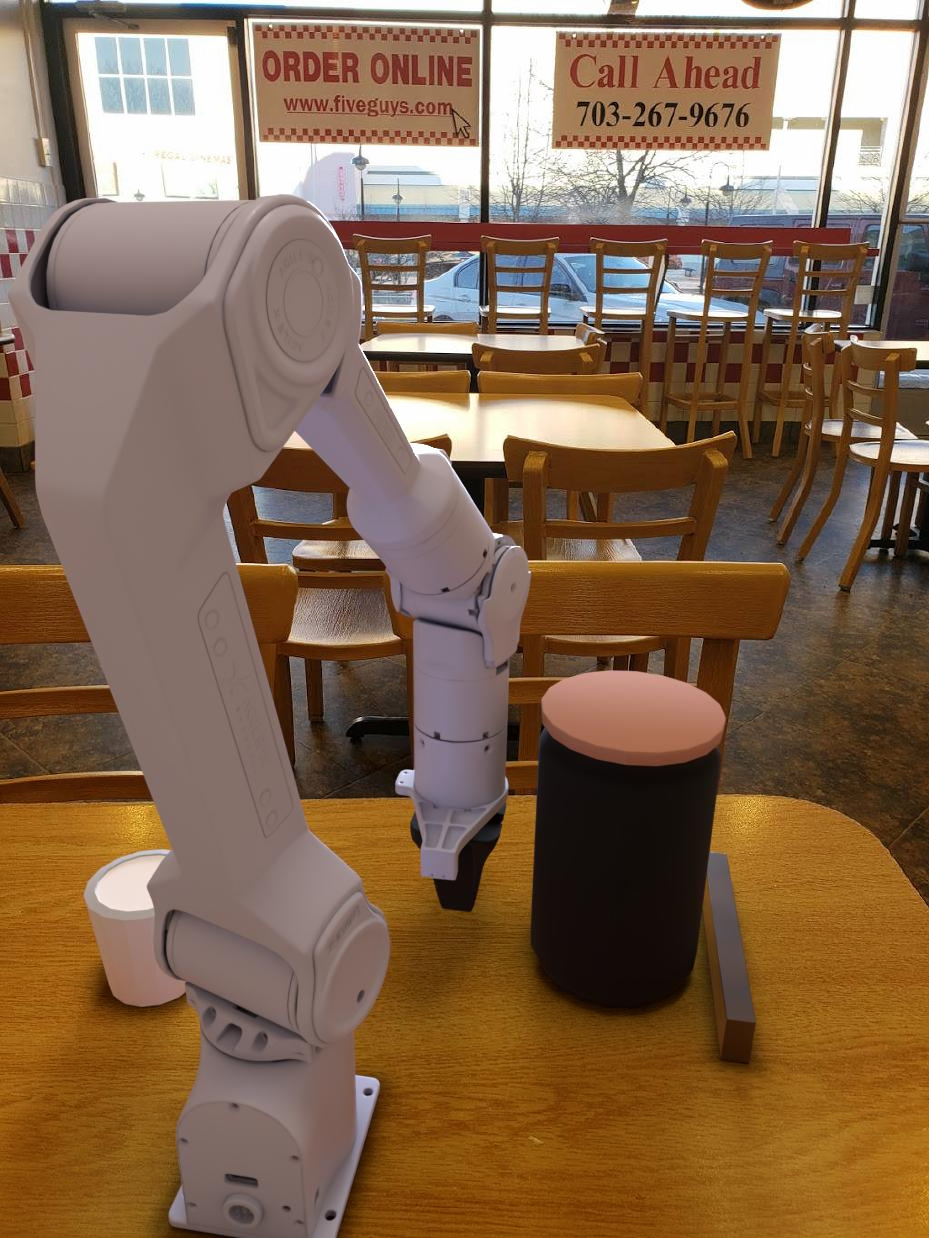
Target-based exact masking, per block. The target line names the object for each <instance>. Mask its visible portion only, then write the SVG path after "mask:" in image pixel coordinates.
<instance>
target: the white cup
mask: <svg viewBox="0 0 929 1238" xmlns="http://www.w3.org/2000/svg"><path fill="white" fill-rule="evenodd" d="M170 851H171V849H165V848H164V849H163V848H160V849H150V850H148V849H147V850H140V851H137V852H134V853H130V854H127V855H123V856H121V857H117V858H116V859H114V860H113V861H110V862H109V863H107V864H105V865H104V866H102V867H100V868H99V869H98V870H97V871H96V872H95V874H94V875H93V876H92V877H90V879H88V880H87V883H86V886H85V889H84V892H83V899H84V903H85V906H86V909H87V912H88V916H89V919H90V923H91V926H92V930H93V933H94V937H95V940H96V944H97V947H98V951H99V954H100V958H101V961H102V965H103V969H104V972H105V975H106V978H107V979H106V980H107V982H108V986H109V988H110V992H111V994H112V996H113V997H114V998H116V999H117V1000H118V1001H120V1002H121V1003H123V1004H124V1005H128V1006H129V1005H130V1006H135V1007H138V1008H139V1007H140V1008H143V1007H151V1006H152V1007H153V1006H160V1005H164V1004H166V1003H169V1002H171V1001H173V1000H175V999H179V998H180V997H181V996H183V995H184V994H186V988H185V982H187V981H183V980H176V979H174V978H172V977H170V976H168V975H167V974H165V973H164V972H163V971H162V970H161V968H160V967H159V966H158V963H157V961H156V958H155V954H154V944H153V939H154V925H155V913H154V906H153V903H152V899H151V897H150V895H149V892H148V890H147V884H148V882H149V880H150V879H151V877H152V876H153V874H154V872H155V871H156V869H157V868H158V866H159V864H160V863H161V861H162V860H163V859H164V857H165V856H166V855H167V854H168V853H169V852H170Z"/></svg>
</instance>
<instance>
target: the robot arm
mask: <svg viewBox="0 0 929 1238" xmlns="http://www.w3.org/2000/svg"><path fill="white" fill-rule="evenodd" d="M7 299H8V303H9V304H10V306H11V311H12V313H13V316H14V318H15V321H16V324H17V326H18V329H19V332H20V334H21V335H20V336H21V337H22V340H23V343H24V346H25V349H26V351H27V355H28V356H29V359H30V362H31V365H32V368H33V371H34V480H35V481H34V482H35V493H36V497H37V500H38V505H39V509H40V513H41V516H42V518H43V521H44V524H45V527H46V529H47V531H48V534H49V537H50V539H51V542H52V544H53V547H54V549H55V552H56V555H57V557H58V560H59V562H60V565H61V567H62V570H63V573H64V575H65V578H66V580H67V583H68V585H69V588H70V591H71V594H72V596H73V599H74V600H75V604H76V605H77V606H76V607H77V608H78V611H79V614H80V617H81V619H82V622H83V624H84V627H85V629H86V631H87V635H88V636H89V639H90V642H91V644H92V647H93V650H94V653H95V655H96V657H97V660H98V662H99V665H100V668H101V670H102V673H103V676H104V677H105V680H106V683H107V685H108V688H109V691H110V693H111V695H112V698H113V701H114V704H115V706H116V708H117V711H118V713H119V717H120V718H121V722H122V724H123V726H124V729H125V731H126V734H127V737H128V739H129V742H130V744H131V747H132V749H133V752H134V755H135V758H136V760H137V763H138V765H139V767H140V769H141V773H142V776H143V777H144V780H145V783H146V785H147V788H148V790H149V793H150V795H151V799H152V801H153V803H154V806H155V808H156V811H157V814H158V816H159V819H160V821H161V824H162V827H163V829H164V831H165V832H164V833H165V834H166V837H167V839H168V841H169V844H170V847H171V849H170V850H171V851H170V852H169V853H168V854H167V855H166V856H165V857H164V859H163V860H162V861H161V863H160V864H159V866H158V868H157V869H156V871H155V872H154V874H153V876H152V877H151V879H150V880H149V882H148V884H147V890H148V892H149V895H150V897H151V899H152V903H153V906H154V913H155V925H154V939H153V944H154V954H155V958H156V961H157V963H158V966H159V967H160V968H161V970H162V971H163V972H164V973H165V974H167V975H168V976H170V977H172V978H174V979H176V980H183V981H187V982H185V988H186V992H185V994H186V995H185V997H186V1002H187V1005H189V1006H190V1007H191V1008H193V1009H194V1010H195V1011H196V1013H197V1015H198V1020H199V1031H200V1032H199V1033H200V1052H199V1063H198V1067H197V1072H196V1075H195V1078H194V1083H193V1086H192V1088H191V1090H190V1093H189V1095H188V1097H187V1100H186V1102H185V1104H184V1106H183V1108H182V1109H181V1112H180V1114H179V1117H178V1120H177V1123H176V1128H175V1145H176V1152H177V1160H178V1167H179V1175H180V1182H181V1185H180V1188H179V1189H178V1192H177V1193H176V1196H175V1198H174V1200H173V1202H172V1204H171V1206H170V1208H169V1211H168V1214H167V1215H168V1216H167V1217H168V1221H169V1222H168V1223H169V1224H170V1225H171V1226H172V1227H174V1228H177V1229H185V1230H190V1231H196V1232H202V1233H207V1234H212V1235H213V1234H215V1235H220V1236H225V1237H231V1238H338V1234H339V1230H340V1228H341V1224H342V1220H343V1217H344V1213H345V1210H346V1208H347V1207H346V1206H347V1204H348V1200H349V1196H350V1193H351V1189H352V1187H353V1184H354V1183H353V1182H354V1179H355V1176H356V1173H357V1169H358V1166H359V1162H360V1160H361V1155H362V1153H363V1149H364V1146H365V1141H366V1138H367V1136H368V1131H369V1128H370V1125H371V1121H372V1118H373V1114H374V1111H375V1107H376V1104H377V1101H378V1097H379V1094H380V1088H381V1084H380V1081H379V1080H378V1079H377V1078H376V1077H370V1076H364V1075H357V1074H356V1053H355V1050H356V1049H355V1030H356V1029H357V1028H358V1027H359V1026H361V1024H362V1023H363V1022H364V1021H365V1019H366V1018H367V1016H368V1015H369V1013H370V1012H371V1010H372V1008H373V1006H374V1005H375V1003H376V1001H377V999H378V996H379V994H380V993H381V990H382V987H383V984H384V981H385V978H386V974H387V973H388V967H389V962H390V957H391V956H390V955H391V938H390V933H389V927H388V922H387V918H386V916H385V914H384V912H383V911H382V910H381V908H379V907H378V906H376V905H375V904H373V903H372V902H371V901H369V899H368V897H367V894H366V891H365V887H364V883H363V879H362V877H360V876H359V874H358V873H357V872H356V871H355V870H354V869H353V868H351V866H350V865H348V864H347V863H346V862H345V861H344V860H342V858H341V857H340V856H338V855H337V854H336V853H335V852H334V851H333V850H331V849H330V848H329V847H328V846H327V845H326V844H325V843H324V842H322V840H320V839H319V838H318V837H317V836H316V835H315V834H314V833H312V831H311V830H310V829H309V826H308V823H307V819H306V816H305V813H304V809H303V805H302V802H301V797H300V794H299V791H298V786H297V783H296V778H295V776H294V771H293V768H292V765H291V764H292V763H291V761H290V757H289V754H288V749H287V746H286V743H285V739H284V735H283V731H282V728H281V724H280V720H279V716H278V713H277V710H276V706H275V701H274V698H273V694H272V691H271V688H270V683H269V680H268V675H267V673H266V668H265V665H264V661H263V657H262V654H261V651H260V646H259V643H258V640H257V636H256V635H257V634H256V632H255V628H254V625H253V621H252V617H251V613H250V609H249V606H248V602H247V599H246V595H245V592H244V588H243V584H242V580H241V576H240V573H239V569H238V565H237V562H236V558H235V554H234V551H233V548H232V543H231V540H230V535H229V533H228V529H227V525H226V522H225V517H224V510H225V507H226V505H227V503H228V500H229V498H230V496H231V494H232V493H234V492H236V491H238V490H241V489H243V488H245V487H248V486H249V485H252V484H254V483H256V482H258V481H259V480H261V479H262V478H263V476H264V475H265V473H266V472H267V471H268V469H269V468H270V467H271V464H272V463H273V462H274V461H275V459H276V458H277V456H278V455H279V454H280V452H281V451H282V450H283V448H284V446H285V445H286V444H287V443H288V441H289V440H290V438H291V437H292V435H293V434H294V433H295V432H296V435H298V436H299V437H300V438H301V439H302V440H303V441H304V442H305V443H306V444H307V445H308V446H309V447H310V448H311V450H313V451H314V453H315V454H316V455H317V456H318V457H319V458H320V459H321V460H322V461H323V462H324V463H325V464H326V465H327V466H328V467H329V468H330V469H331V470H332V471H333V472H334V473H335V474H336V475H337V476H338V478H340V480H342V482H343V483H344V484H346V486H347V487H348V488H349V489H348V493H347V497H346V512H347V517H348V520H349V523H350V524H351V526H352V528H353V530H354V531H355V532H356V533H357V534H358V535H359V536H360V537H361V538H362V540H363V541H364V542H365V543H366V545H368V547H369V548H370V549H371V550H372V551H373V552H374V554H375V555H376V556H377V557H378V558H379V560H380V561H381V562H382V563H383V564H384V566H385V573H386V575H388V577H389V582H390V594H391V601H392V605H393V607H394V609H395V611H396V612H397V613H401V614H402V615H403V616H405V617H411V618H413V619H415V620H413V622H412V639H413V640H412V643H413V644H412V647H413V648H412V651H413V652H412V653H413V654H412V659H413V666H412V667H413V669H412V670H413V770H412V769H403V770H401V771H400V772H399V773H398V776H397V778H396V779H395V784H394V785H395V793H396V794H397V795H399V796H406V797H409V798H411V800H412V804H413V809H414V812H413V815H412V818H411V820H410V822H409V823H410V825H409V833H410V837H411V841H413V843H414V844H415V845H416V847H417V848H418V849H419V850H420V877H422V878H430V879H432V881H433V885H434V888H435V892H436V896H437V899H438V902H439V905H440V907H441V909H442V910H449V911H457V912H466V913H471V912H472V911H473V909H474V907H475V904H476V900H477V897H478V893H479V889H480V884H481V880H482V875H483V871H484V866H485V863H486V862H487V860H488V858H489V856H490V855H491V854H492V852H493V851H494V850H495V848H496V846H497V844H498V842H499V839H500V836H501V833H502V827H503V821H504V818H505V815H506V810H507V801H508V798H509V781H508V778H507V776H506V770H507V745H508V743H507V742H508V741H507V740H508V721H509V720H508V716H509V714H508V713H509V691H510V690H509V687H510V686H509V685H510V661H511V660H510V657H511V656H513V655H514V654H516V653H517V650H518V644H519V642H520V635H521V634H520V633H521V632H520V631H521V621H522V618H523V615H524V610H525V607H526V604H527V600H528V597H529V592H530V587H531V579H532V571H530V566H529V560H528V555H527V553H526V551H525V550H524V549H523V548H522V547H521V546H518V545H517V543H516V542H515V540H514V538H512V537H511V536H509V535H507V534H500V533H494V532H493V530H492V529H491V528H490V526H489V525H488V522H487V521H486V520H485V517H483V515H482V513H481V511H480V510H479V508H478V507H477V505H476V504H475V502H474V500H473V499H472V497H471V495H470V494H469V492H468V491H467V489H466V487H465V486H464V484H463V483H462V481H461V479H460V477H459V476H458V474H457V473H456V471H455V470H454V468H453V467H452V464H453V463H452V460H451V459H450V456H448V454H447V451H445V450H444V449H443V448H442V449H440V448H434V447H431V446H429V445H427V444H423V443H411V442H410V440H409V437H408V436H407V434H406V432H405V430H404V428H403V426H402V425H401V423H400V421H399V419H398V417H397V415H396V413H395V411H394V408H393V407H392V405H391V403H390V401H389V398H387V395H386V394H385V392H384V390H383V387H382V385H381V384H380V382H379V379H378V378H377V376H376V374H375V372H374V371H373V368H372V366H371V364H370V362H369V360H368V359H367V356H366V355H365V353H364V352H363V348H362V347H361V345H360V339H361V331H362V323H363V322H362V321H363V284H362V280H361V278H360V277H359V275H358V274H357V273H356V272H355V270H354V268H352V266H350V264H349V262H348V259H347V256H346V254H345V251H344V248H343V245H342V243H341V241H340V239H339V236H338V235H337V233H336V230H335V229H334V228H333V226H332V224H331V223H330V221H329V220H328V218H327V217H326V216H325V215H324V213H322V211H321V210H320V209H319V208H318V207H317V206H315V205H314V204H313V203H311V202H310V201H308V200H307V199H304V198H303V197H300V196H297V195H294V194H288V193H287V194H285V193H279V194H273V195H264V196H259V197H257V198H256V199H236V200H234V199H231V200H230V199H229V200H180V201H179V200H171V201H116V200H112V199H110V198H106V197H98V198H97V197H96V198H95V197H85V198H81V199H75V200H73V201H71V202H69V203H66V204H64V205H62V206H61V207H60V208H58V209H57V210H56V211H54V212H53V213H52V214H51V215H50V216H49V217H48V218H47V220H46V221H45V223H43V225H42V227H41V229H40V230H39V232H38V234H37V236H36V238H35V240H34V241H33V244H32V246H31V247H30V250H29V251H28V254H27V255H26V257H25V259H24V260H23V263H22V264H21V267H20V268H19V271H18V272H17V275H16V277H15V278H14V280H13V282H12V284H11V286H10V288H9V290H8V292H7ZM367 1094H370V1095H367ZM329 1217H334V1218H333V1219H332V1220H328V1218H329Z"/></svg>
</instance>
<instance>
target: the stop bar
mask: <svg viewBox="0 0 929 1238" xmlns="http://www.w3.org/2000/svg"><path fill="white" fill-rule="evenodd" d="M702 916H703V926H704V935H705V942H706V950H707V958H708V959H707V960H708V965H709V966H708V968H709V974H710V982H711V990H712V998H713V999H712V1000H713V1007H714V1017H715V1025H716V1034H717V1040H718V1047H719V1048H718V1049H719V1058H720V1060H722V1061H728V1062H736V1063H744V1064H750V1062H751V1055H752V1049H753V1044H754V1037H755V1031H756V1025H757V1021H756V1015H755V1009H754V1003H753V997H752V992H751V987H750V986H751V985H750V980H749V974H748V969H747V963H746V962H747V961H746V956H745V952H744V946H743V939H742V934H741V928H740V924H739V923H740V922H739V917H738V911H737V905H736V898H735V893H734V887H733V881H732V875H731V870H730V864H729V858H728V854H727V853H725V852H724V853H723V852H716V851H715V852H714V851H710V853H709V861H708V869H707V877H706V885H705V892H704V900H703V908H702Z"/></svg>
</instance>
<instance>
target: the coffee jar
mask: <svg viewBox="0 0 929 1238" xmlns="http://www.w3.org/2000/svg"><path fill="white" fill-rule="evenodd" d="M540 702H541V703H540V705H541V722H542V725H543V726H544V728H543V730H542V731H541V733H540V736H539V739H538V754H537V755H538V756H537V758H538V759H537V779H536V797H535V798H536V800H535V819H534V821H535V823H534V843H533V864H532V865H533V866H532V884H531V885H532V886H531V906H530V909H531V910H530V946H531V949H532V950H533V952H534V955H535V957H536V959H537V960H538V963H539V965H540V967H541V968H542V970H543V971H544V972H545V973H546V975H547V976H548V977H549V978H550V979H551V980H552V981H553V982H554V983H555V984H556V985H557V986H558V987H559V988H560V989H561V990H562V991H564V992H566V993H567V994H570V995H572V996H573V997H575V998H577V999H578V1000H581V1001H582V1002H587V1003H589V1004H593V1005H596V1006H600V1007H604V1008H612V1009H613V1008H616V1009H634V1008H639V1007H643V1006H650V1005H653V1004H655V1003H656V1002H658V1001H661V1000H663V999H665V998H667V997H668V996H669V995H670V996H671V994H672V993H673V992H674V991H676V990H678V989H679V987H681V985H682V984H683V983H684V982H685V980H686V979H687V978H688V977H689V975H690V974H691V973H692V971H694V967H695V963H696V958H697V953H698V946H699V940H700V932H701V930H700V929H701V924H702V916H703V909H702V908H703V900H704V892H705V885H706V877H707V869H708V861H709V853H710V852H711V844H712V836H713V829H714V821H715V814H716V804H717V797H718V790H719V780H720V775H721V767H722V766H721V765H722V755H721V751H720V749H719V746H718V745H720V744H721V742H722V739H723V738H722V737H723V734H724V732H725V731H724V730H725V726H726V722H727V717H726V715H725V712H724V710H723V708H722V706H721V704H720V703H719V702H718V701H717V700H715V699H714V698H713V697H712V696H711V695H709V694H708V693H707V692H706V691H703V690H701V689H700V688H698V687H696V686H693V685H691V684H690V683H688V682H685V681H682V680H678V679H675V678H673V677H669V676H665V675H662V674H656V673H650V672H643V671H636V670H635V671H634V670H610V669H609V670H601V671H600V670H599V671H591V672H584V673H581V674H577V675H573V676H570V677H566V678H563V679H561V680H560V681H558V682H556V683H555V684H553V685H551V686H550V687H549V688H548V689H547V691H546V692H545V693H544V695H543V696H542V698H541V700H540Z"/></svg>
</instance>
